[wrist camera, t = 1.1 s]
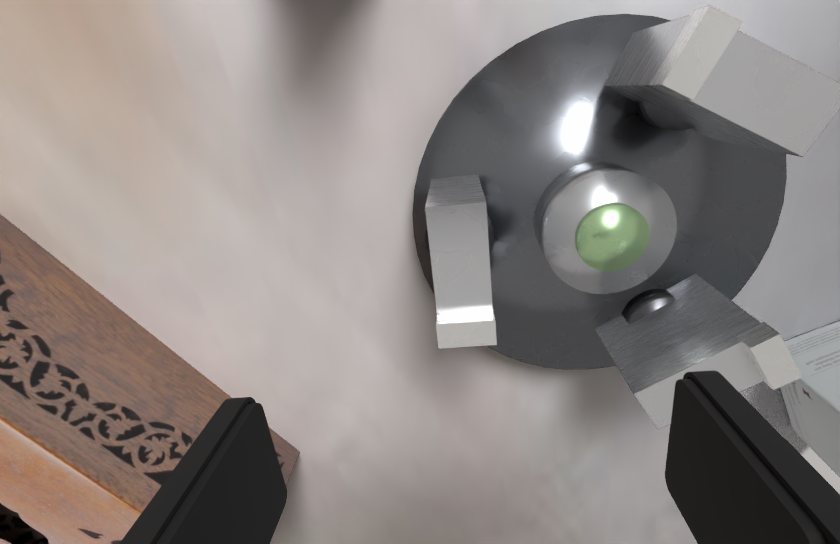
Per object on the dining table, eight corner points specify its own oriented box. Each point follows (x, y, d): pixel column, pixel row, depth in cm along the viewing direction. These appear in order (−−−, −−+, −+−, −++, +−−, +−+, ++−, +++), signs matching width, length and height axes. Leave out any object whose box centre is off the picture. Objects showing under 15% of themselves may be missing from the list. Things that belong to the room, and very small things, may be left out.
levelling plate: (792, -7, 21) (900, -37, 16) (733, 342, 28) (795, 398, 23) (394, 47, 23) (378, 35, 18) (432, 360, 30) (429, 415, 25)
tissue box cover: (-91, 337, 33) (-305, 435, 23) (-5, 206, 28) (-227, 263, 19) (193, 531, 39) (112, 671, 29) (300, 449, 34) (245, 582, 25)
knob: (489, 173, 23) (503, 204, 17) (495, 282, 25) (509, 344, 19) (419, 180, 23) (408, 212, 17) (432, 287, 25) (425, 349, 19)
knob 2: (589, 321, 26) (632, 393, 19) (692, 264, 24) (774, 323, 18) (619, 365, 27) (669, 447, 20) (720, 313, 25) (807, 386, 19)
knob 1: (704, 151, 22) (803, 175, 16) (594, 97, 21) (652, 101, 15) (754, 77, 20) (883, 71, 14) (638, 17, 20) (721, -14, 14)
